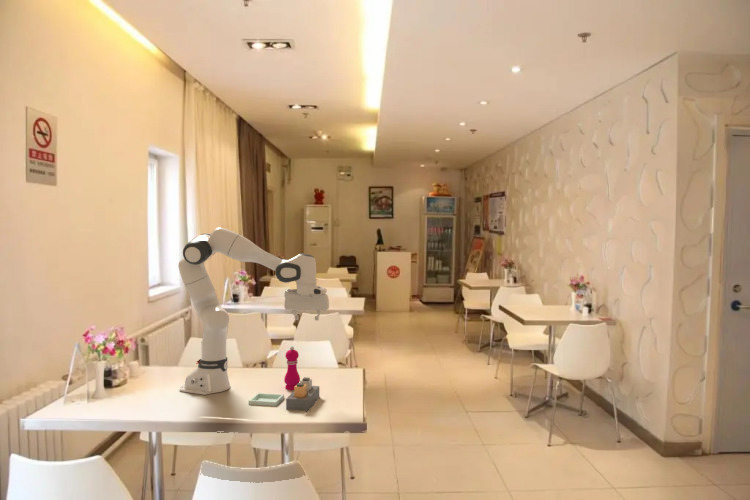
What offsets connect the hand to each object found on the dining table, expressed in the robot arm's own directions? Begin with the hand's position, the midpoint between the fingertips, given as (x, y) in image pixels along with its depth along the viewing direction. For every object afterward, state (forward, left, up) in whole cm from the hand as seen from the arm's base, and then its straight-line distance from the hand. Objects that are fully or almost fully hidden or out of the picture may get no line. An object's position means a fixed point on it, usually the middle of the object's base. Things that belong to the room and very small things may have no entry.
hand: (306, 319), depth 226 cm
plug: (+3, -19, -31) cm, 37 cm away
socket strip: (+3, -15, -33) cm, 36 cm away
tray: (-13, -16, -33) cm, 39 cm away
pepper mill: (-8, +3, -33) cm, 34 cm away
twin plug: (+3, -11, -31) cm, 33 cm away
